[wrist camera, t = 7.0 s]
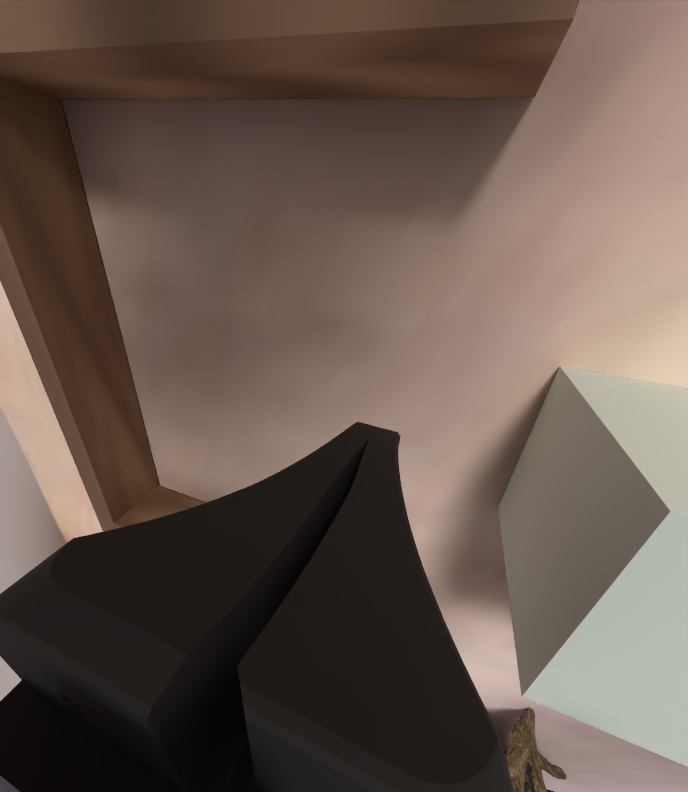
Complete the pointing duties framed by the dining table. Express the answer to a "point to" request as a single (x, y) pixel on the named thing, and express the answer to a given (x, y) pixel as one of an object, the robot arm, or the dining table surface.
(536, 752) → the eagle figurine
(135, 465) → the wooden frame
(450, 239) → the dining table surface
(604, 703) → the cube
